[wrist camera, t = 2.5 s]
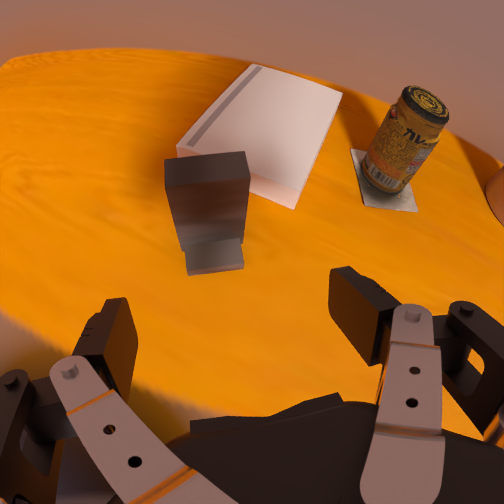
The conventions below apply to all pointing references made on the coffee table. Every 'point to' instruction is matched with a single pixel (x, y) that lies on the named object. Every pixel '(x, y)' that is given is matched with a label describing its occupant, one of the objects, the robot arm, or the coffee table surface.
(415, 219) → the coffee table surface
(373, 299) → the robot arm
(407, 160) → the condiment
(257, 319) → the coffee table surface
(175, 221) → the dark block with lip
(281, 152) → the board
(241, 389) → the coffee table surface
